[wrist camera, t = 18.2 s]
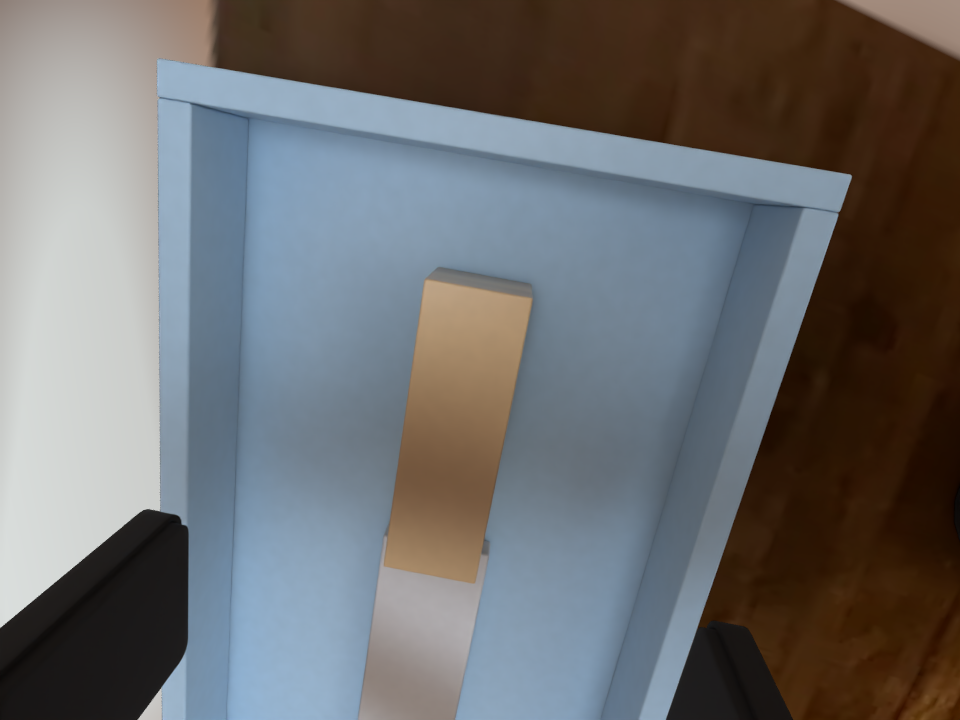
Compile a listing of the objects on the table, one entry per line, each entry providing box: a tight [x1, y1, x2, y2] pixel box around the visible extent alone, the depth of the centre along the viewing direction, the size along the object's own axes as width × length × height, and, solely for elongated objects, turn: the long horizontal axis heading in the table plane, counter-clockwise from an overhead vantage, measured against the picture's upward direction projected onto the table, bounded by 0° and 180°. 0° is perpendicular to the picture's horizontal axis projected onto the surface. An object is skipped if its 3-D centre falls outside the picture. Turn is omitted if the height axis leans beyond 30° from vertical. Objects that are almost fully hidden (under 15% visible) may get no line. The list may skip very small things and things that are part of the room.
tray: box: [157, 58, 852, 720], centre depth 16 cm, size 23×13×3 cm, turn 171°
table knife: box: [358, 267, 533, 720], centre depth 16 cm, size 17×3×2 cm, turn 170°
